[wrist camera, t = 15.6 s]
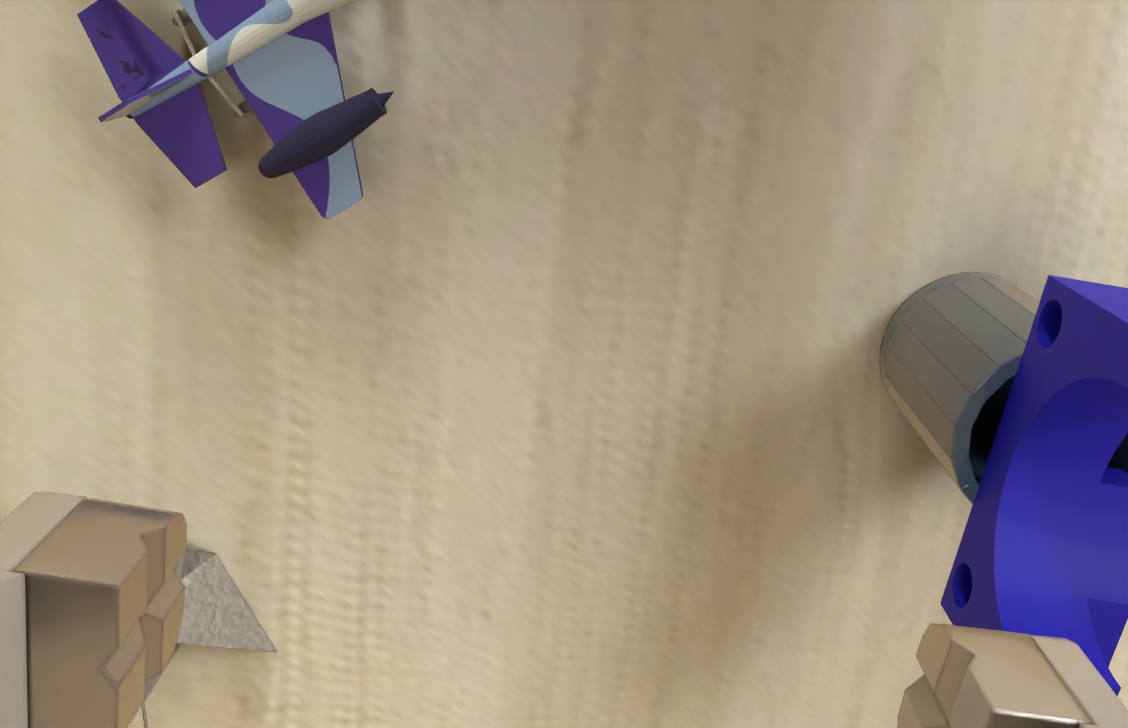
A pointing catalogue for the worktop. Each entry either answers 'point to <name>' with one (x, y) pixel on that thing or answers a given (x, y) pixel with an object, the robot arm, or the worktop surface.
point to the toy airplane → (242, 88)
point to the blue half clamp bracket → (1056, 485)
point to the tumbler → (961, 367)
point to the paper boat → (212, 611)
